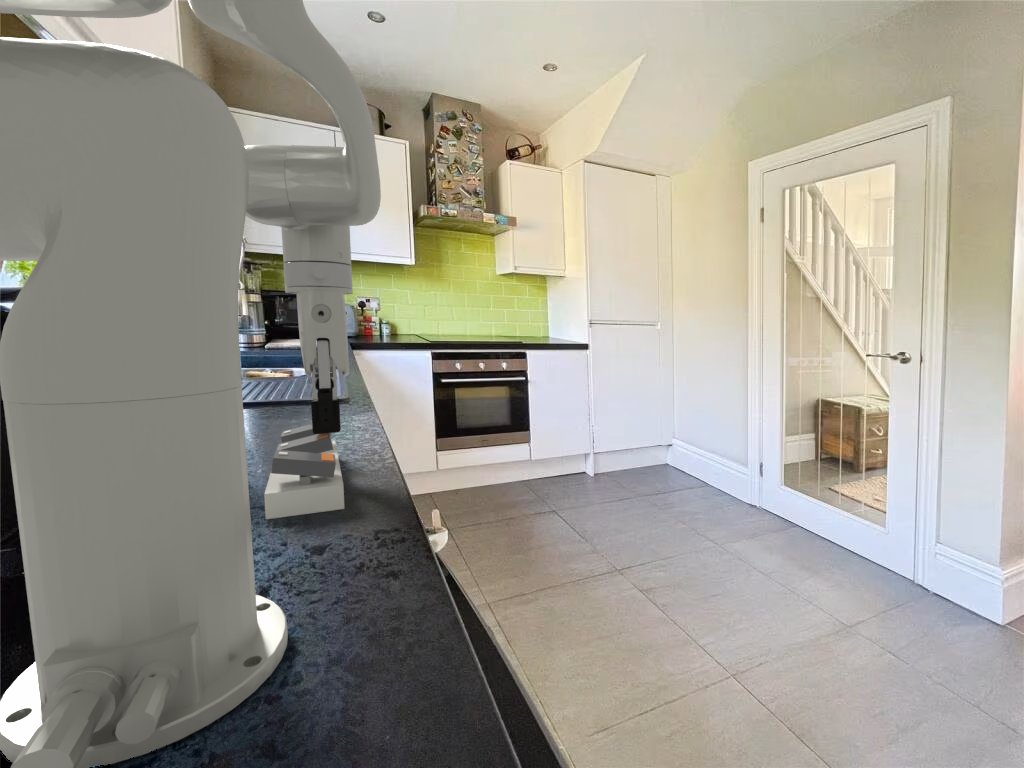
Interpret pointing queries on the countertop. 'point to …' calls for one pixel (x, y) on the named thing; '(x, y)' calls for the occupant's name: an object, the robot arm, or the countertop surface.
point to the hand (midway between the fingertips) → (326, 431)
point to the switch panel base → (304, 493)
